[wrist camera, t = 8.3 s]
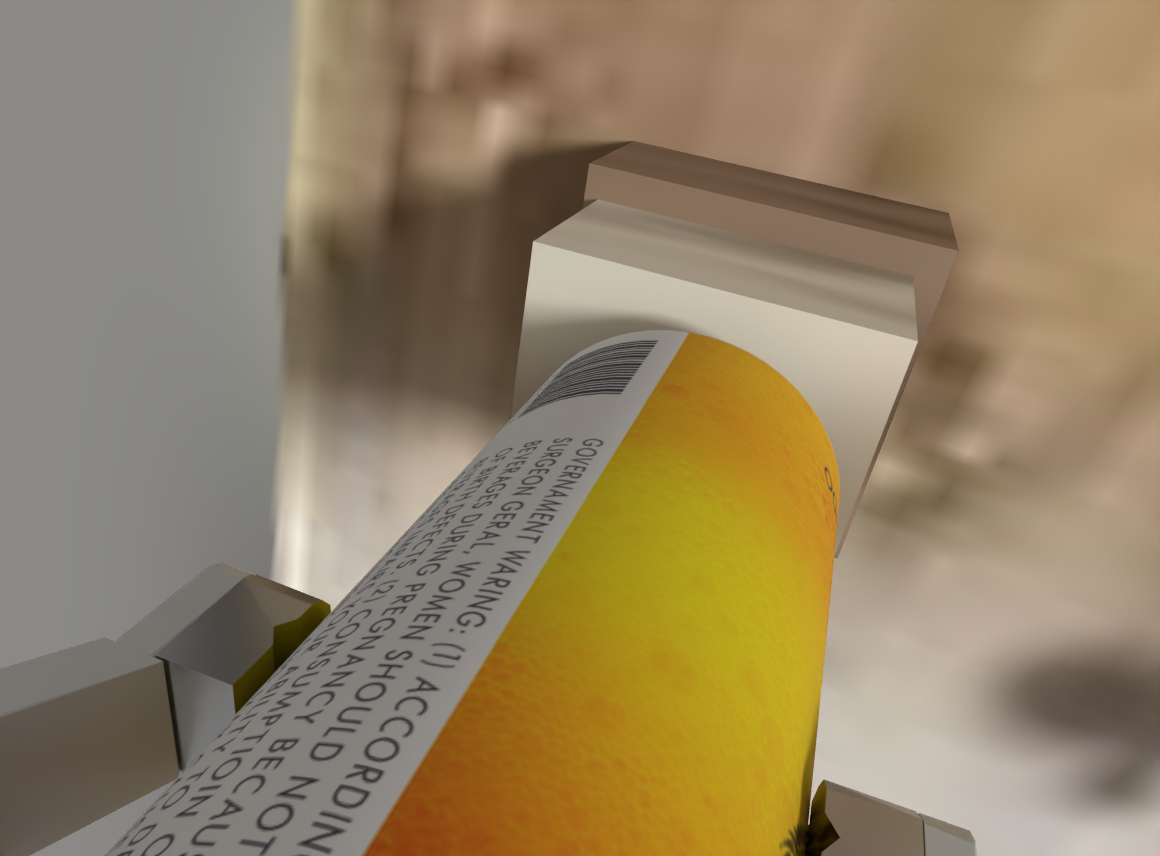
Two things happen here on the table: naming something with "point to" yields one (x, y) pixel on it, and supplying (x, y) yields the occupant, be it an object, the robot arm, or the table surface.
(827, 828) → the robot arm
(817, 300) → the top block
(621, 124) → the table surface
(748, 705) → the beer can
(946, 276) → the base block
